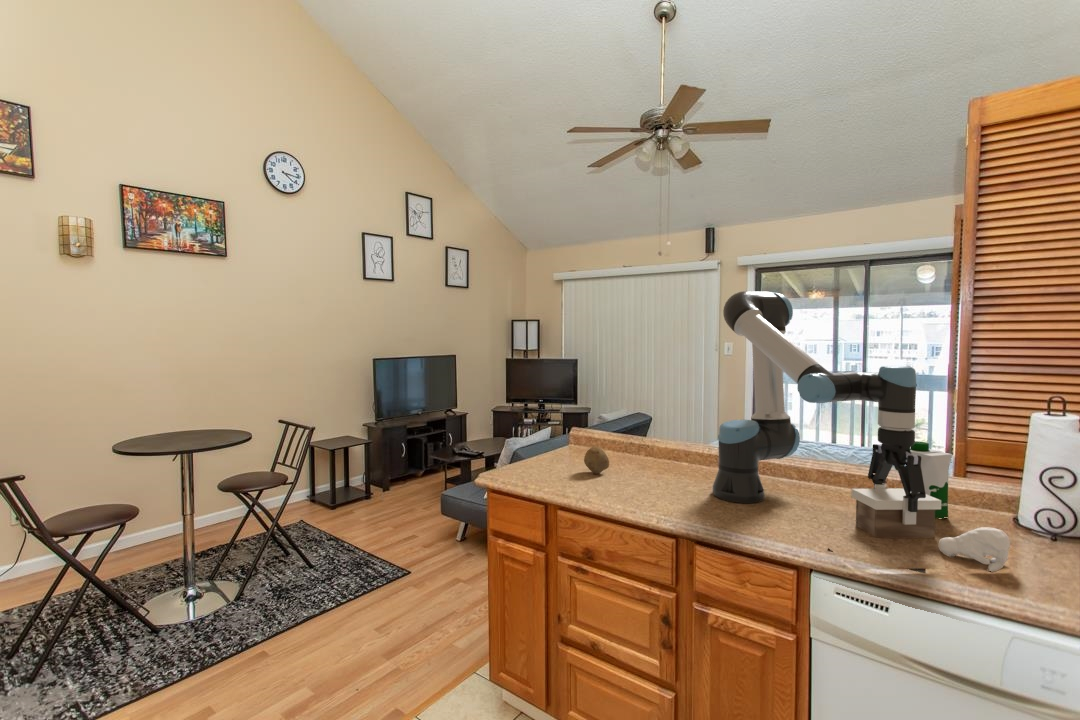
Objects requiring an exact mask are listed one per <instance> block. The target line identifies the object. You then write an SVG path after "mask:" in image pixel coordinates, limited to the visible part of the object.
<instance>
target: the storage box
mask: <svg viewBox="0 0 1080 720" xmlns="http://www.w3.org/2000/svg"><path fill="white" fill-rule="evenodd" d="M855 500H856V499H855ZM855 503H856V505H855V508H856V509H855V510H856V511H855V526H856V527H858V528H859V529H861V530H863V531H864V532H866V533H867V534H869V535H871V536H873V537H874V538H876V539H912V538H913V539H919V538H920V539H923V538H924V539H925V538H926V539H927V538H928V539H932V538H934V539H935V536H936V535H935V529H936V528H935V527H936V525H935V524H936V518H935V509H930V510H917V512H916V524H907V525H905V524H903V510H876V509H874V508H872V507H870V506H868V505H866V504H864V503H862V502H860V501H858V500H856V501H855Z"/></svg>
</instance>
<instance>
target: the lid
mask: <svg viewBox="0 0 1080 720" xmlns="http://www.w3.org/2000/svg"><path fill="white" fill-rule="evenodd" d="M850 491H851V498H852V499H855V500H858V501H860V502H862V503H864V504H866V505H868V506H870V507H872V508H874V509H876V510H903V496H906V494H905V491H904V488H903V487H902V488H899V487H898V488H897V487H896V488H891V487H890V488H888V487H887V489H874V488H851V490H850ZM919 493H920V492H919ZM930 509H941V500H939V499H937V498H934V497H932V496H929V495H927V494H926V497H925V498H919V499H918V510H930Z"/></svg>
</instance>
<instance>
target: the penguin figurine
mask: <svg viewBox="0 0 1080 720" xmlns="http://www.w3.org/2000/svg"><path fill="white" fill-rule="evenodd" d="M937 545H938V549H939V550H940V552H941V553H942V554H943V555H945V556H946V557H949V558H952V557H956V555H960V556H961V555H962V556H965V557H967V558H970V559H973V560H975V561H977V562H979V563H981V564H983V565H988V567H987V572H989V571H991V572H990V573H995V572H997V571H999V570H1001V569H1002V568H1003V567H1004V566H1005V564H1006V562H1007V561H1008V557H1009V552H1010V551H1009V550H1010V547H1011V542H1010V537H1009V536H1008V535H1007V533H1006V532H1004V530H1002V529H998V528H996V527H988V526H981V527H977V528H975V529H970V530H968V531H967V532H964V533H962V534H960V535H958V536H955V537H949V536H948V537H942V538H940V539H939V541H938V544H937ZM989 556H991V557H992V558H990V559H988V558H986V557H989Z"/></svg>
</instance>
